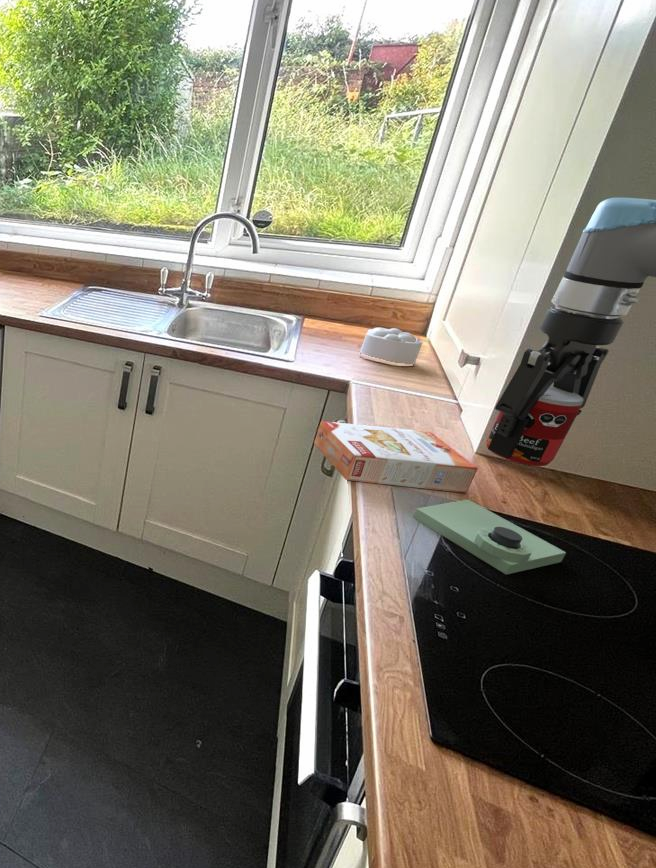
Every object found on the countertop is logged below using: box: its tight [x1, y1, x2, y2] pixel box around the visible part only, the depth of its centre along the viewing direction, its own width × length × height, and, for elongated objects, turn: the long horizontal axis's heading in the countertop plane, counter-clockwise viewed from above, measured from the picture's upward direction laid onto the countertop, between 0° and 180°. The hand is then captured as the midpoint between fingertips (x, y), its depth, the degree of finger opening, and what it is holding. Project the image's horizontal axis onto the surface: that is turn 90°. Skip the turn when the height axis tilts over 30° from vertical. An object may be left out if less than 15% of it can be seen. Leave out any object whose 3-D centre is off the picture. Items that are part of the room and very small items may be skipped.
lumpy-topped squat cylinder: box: [359, 326, 423, 364], centre depth 168 cm, size 10×13×9 cm
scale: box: [412, 499, 567, 575], centre depth 93 cm, size 14×12×4 cm
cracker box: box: [313, 420, 479, 494], centre depth 112 cm, size 14×6×21 cm
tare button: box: [490, 527, 522, 549], centre depth 88 cm, size 3×3×2 cm
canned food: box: [485, 384, 584, 467], centre depth 89 cm, size 8×8×11 cm
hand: (518, 450), depth 91 cm, fingers closed on canned food, 8 cm apart
